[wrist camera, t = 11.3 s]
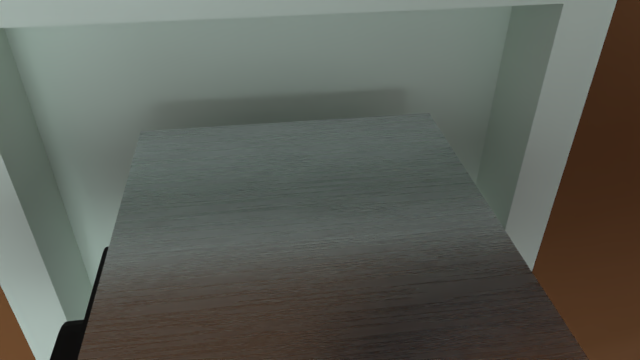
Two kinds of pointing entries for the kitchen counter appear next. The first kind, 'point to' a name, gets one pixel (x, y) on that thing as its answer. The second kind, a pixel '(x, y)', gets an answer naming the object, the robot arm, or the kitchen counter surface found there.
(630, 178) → the kitchen counter surface
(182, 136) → the hollow metal cube
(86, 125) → the tray
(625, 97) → the kitchen counter surface
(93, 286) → the robot arm
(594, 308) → the kitchen counter surface
